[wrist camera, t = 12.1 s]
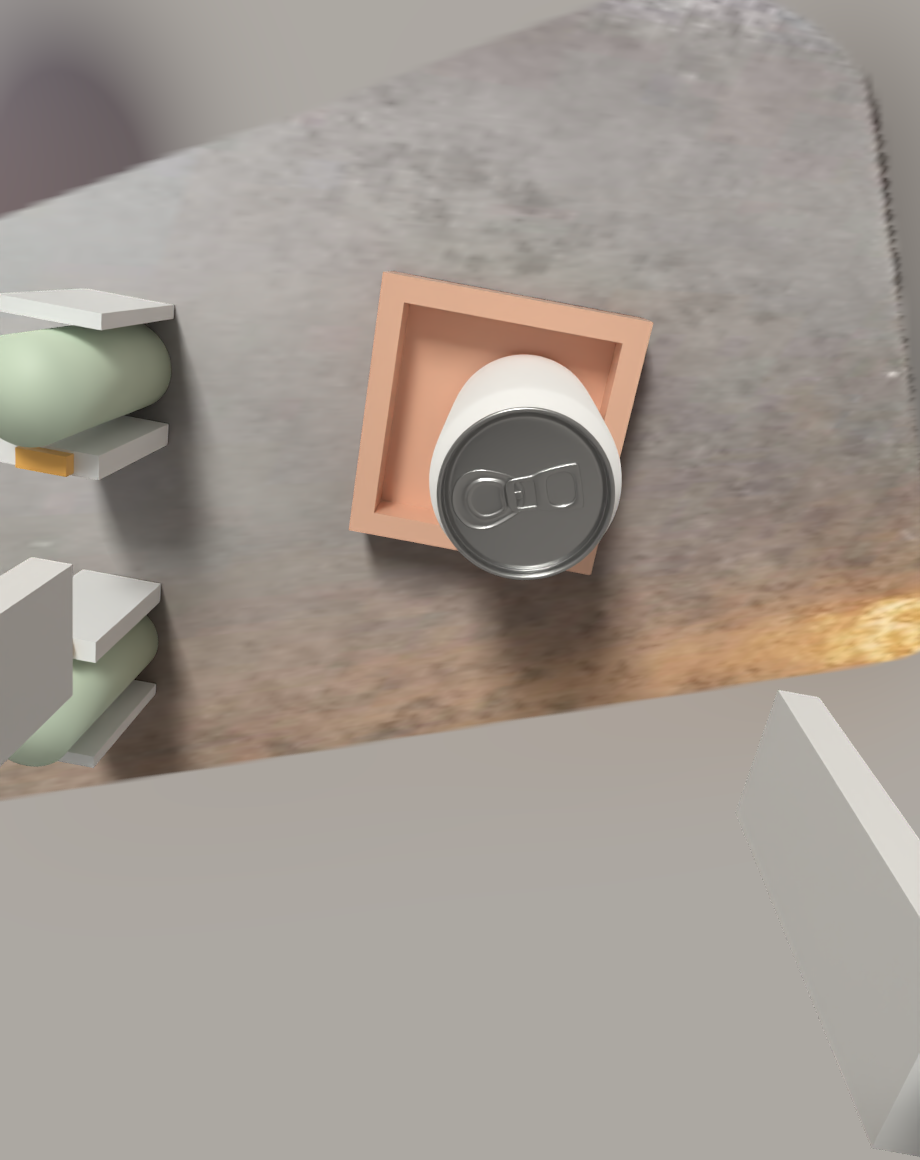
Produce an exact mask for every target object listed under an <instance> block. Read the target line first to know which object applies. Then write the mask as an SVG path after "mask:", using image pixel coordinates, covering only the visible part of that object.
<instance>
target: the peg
mask: <svg viewBox="0 0 920 1160" xmlns="http://www.w3.org/2000/svg"><path fill="white" fill-rule="evenodd" d="M157 649H158V634H157V631H156V628H155V626H154V624H153V623H152V621H151V620H150V618H149V617H148V616H147V615H146V616H145V617H143V618H142V619H141V620H140V621H139V622H138V623H137V624H136V625H135V626H134V627H133V628H132V629H131V630H130V631H129V632H128V633H127V634H125V635H124V636H123V637H122V638H121V639H120V640H119V641H118V642H117V643H116V644H115V645H114V646H113V647H112V648H111V649H110V650H109V651H107V652H106V653H105V654H104V655H103V656H102V657H101V658H100V659H99V660H98V661H97V662H96V663H93V662H87V661H82V660H77V659H73V696H72V697H71V698H70V699H69V700H68V701H67V702H65V703H64V704H63V705H62V706H61V707H60V708H59V709H58V710H57V711H56V712H55V713H54V714H53V715H52V716H51V717H50V718H49V719H48V720H47V721H46V722H45V723H44V724H43V725H42V726H41V727H40V728H39V729H38V730H37V731H36V732H35V733H34V734H33V735H32V736H31V737H30V738H29V739H28V740H27V741H26V742H25V743H24V744H23V745H22V746H21V747H20V748H19V749H18V750H17V751H16V752H15V753H14V754H12V755H11V756H10V757H9V758H8V759H9V760H11V761H13V762H15V763H18V764H22V765H26V766H45V765H49V764H52V763H54V762H56V761H58V760H59V759H61V758H62V757H63V756H64V755H65V754H66V753H67V751H68V750H69V749H70V748H71V747H72V746H73V745H74V744H75V743H76V742H77V741H78V740H79V739H80V737H81V736H82V735H83V734H84V733H85V732H86V731H87V730H88V729H89V728H90V727H91V726H92V724H93V723H94V722H95V721H96V720H97V719H98V718H99V717H100V716H101V715H102V714H103V713H104V711H105V710H106V709H107V708H108V707H109V706H110V705H111V704H112V703H113V702H114V701H115V700H116V698H117V697H118V696H119V695H120V694H121V693H122V692H123V691H124V690H125V689H126V688H127V687H128V685H129V684H130V683H131V682H132V681H133V680H134V679H135V678H136V677H137V676H138V675H139V674H140V673H141V671H142V670H143V669H144V668H145V667H146V666H147V665H148V664H149V663H150V662H151V661H152V660H153V658H154V656H155V655H156V652H157Z"/></svg>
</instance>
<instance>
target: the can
mask: <svg viewBox="0 0 920 1160" xmlns="http://www.w3.org/2000/svg"><path fill="white" fill-rule="evenodd" d="M621 486H622V472H621V463H620V458H619V454H618V451H617V448H616V445H615V442H614V440H613V438H612V436H611V433H610V431H609V429H608V427H607V426H606V424H605V422H604V420H603V418H602V416H601V414H600V413H599V411H598V409H597V407H596V405H595V403H594V402H593V400H592V398H591V396H590V395H589V393H588V391H587V390H586V388H585V387H584V385H583V384H582V383H581V381H580V380H579V379H578V378H577V377H576V376H575V375H574V374H573V373H572V372H571V371H570V370H568V369H567V368H566V367H564V366H563V365H561V364H559V363H557V362H555V361H553V360H551V359H548V358H545V357H542V356H537V355H529V354H519V355H511V356H506V357H503V358H500V359H497V360H495V361H492V362H490V363H489V364H487V365H485V366H484V367H482V368H481V369H479V370H478V371H477V372H476V373H475V374H473V375H472V376H471V377H470V378H469V380H468V381H467V382H466V383H465V385H464V386H463V387H462V389H461V390H460V392H459V394H458V396H457V398H456V400H455V402H454V404H453V406H452V408H451V410H450V413H449V415H448V417H447V419H446V422H445V424H444V426H443V429H442V431H441V433H440V436H439V438H438V441H437V443H436V446H435V449H434V452H433V456H432V460H431V465H430V473H429V489H430V497H431V502H432V506H433V510H434V513H435V515H436V518H437V520H438V522H439V524H440V526H441V528H442V530H443V531H444V533H445V534H446V536H447V537H448V538H449V540H450V541H451V542H452V544H453V545H454V546H455V547H456V549H457V550H458V551H459V552H460V553H461V554H462V555H463V556H464V557H465V558H466V559H467V560H469V561H470V562H471V563H473V564H474V565H476V566H477V567H479V568H481V569H482V570H484V571H486V572H489V573H491V574H494V575H497V576H500V577H504V578H508V579H516V580H534V579H541V578H546V577H550V576H553V575H556V574H559V573H561V572H563V571H566V570H568V569H569V568H571V567H573V566H574V565H576V564H577V563H579V562H580V561H582V560H583V559H584V558H585V557H586V556H587V555H588V554H589V553H590V552H591V551H592V550H593V549H594V548H595V547H596V546H597V544H598V543H599V542H600V540H601V539H602V537H603V535H604V534H605V532H606V531H607V529H608V528H609V526H610V524H611V522H612V520H613V518H614V516H615V513H616V511H617V508H618V504H619V500H620V495H621Z"/></svg>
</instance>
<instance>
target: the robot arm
mask: <svg viewBox="0 0 920 1160" xmlns="http://www.w3.org/2000/svg"><path fill="white" fill-rule="evenodd" d="M72 696H73V564H68V563H62V562H57V561H51V560H46V559H40V558H34V557H30V558H29V559H27V560H26V561H24V562H22V563H21V564H19V565H17V566H16V567H14V568H12V569H11V570H9V571H8V572H6V573H4V574H3V575H1V576H0V766H1V765H2V764H3V763H4V762H5V761H6V760H7V759H8V758H9V757H10V756H11V755H12V754H14V753H15V752H16V751H17V750H18V749H19V748H20V747H21V746H22V745H23V744H24V743H25V742H26V741H27V740H28V739H29V738H30V737H31V736H32V735H33V734H34V733H35V732H36V731H37V730H38V729H39V728H40V727H41V726H42V725H43V724H44V723H45V722H46V721H47V720H48V719H49V718H50V717H51V716H52V715H53V714H54V713H55V712H56V711H57V710H58V709H59V708H60V707H61V706H62V705H63V704H64V703H65V702H67V701H68V700H69V699H70V698H71V697H72ZM736 815H737V818H738V821H739V823H740V825H741V828H742V830H743V833H744V835H745V838H746V840H747V842H748V845H749V847H750V850H751V853H752V855H753V857H754V860H755V862H756V865H757V867H758V870H759V872H760V874H761V877H762V880H763V882H764V885H765V887H766V889H767V892H768V894H769V897H770V899H771V902H772V904H773V907H774V909H775V911H776V914H777V916H778V919H779V921H780V924H781V926H782V929H783V931H784V934H785V936H786V939H787V941H788V944H789V946H790V949H791V951H792V953H793V956H794V958H795V961H796V963H797V966H798V968H799V971H800V973H801V976H802V978H803V981H804V983H805V986H806V988H807V990H808V993H809V995H810V998H811V1000H812V1003H813V1005H814V1008H815V1010H816V1013H817V1015H818V1018H819V1020H820V1022H821V1025H822V1027H823V1030H824V1032H825V1035H826V1037H827V1040H828V1042H829V1044H830V1047H831V1050H832V1052H833V1054H834V1057H835V1059H836V1062H837V1064H838V1067H839V1069H840V1072H841V1074H842V1077H843V1079H844V1081H845V1084H846V1086H847V1089H848V1091H849V1094H850V1096H851V1099H852V1101H853V1104H854V1106H855V1109H856V1111H857V1114H858V1116H859V1118H860V1121H861V1123H862V1126H863V1128H864V1131H865V1133H866V1136H867V1138H868V1141H869V1143H870V1145H871V1148H873V1149H879V1150H885V1151H891V1152H896V1153H902V1154H908V1155H913V1156H919V1157H920V839H919V838H918V837H917V835H916V834H915V832H914V831H913V829H912V828H911V827H910V825H909V824H908V823H907V821H906V820H905V818H904V817H903V816H902V814H901V813H900V811H899V810H898V808H897V807H896V805H895V804H894V803H893V801H892V800H891V798H890V797H889V796H888V794H887V793H886V791H885V790H884V788H883V787H882V786H881V784H880V783H879V781H878V780H877V779H876V777H875V776H874V774H873V773H872V772H871V770H870V769H869V767H868V766H867V765H866V763H865V762H864V760H863V759H862V757H861V756H860V755H859V753H858V752H857V750H856V749H855V747H854V746H853V745H852V743H851V742H850V740H849V739H848V738H847V736H846V735H845V733H844V732H843V731H842V729H841V728H840V726H839V725H838V724H837V722H836V721H835V719H834V718H833V716H832V715H831V714H830V712H829V711H828V709H827V708H826V707H825V705H824V704H823V702H822V701H821V699H820V698H819V697H815V696H809V695H803V694H797V693H792V692H787V691H781V690H778V691H777V694H776V698H775V700H774V703H773V706H772V709H771V712H770V715H769V717H768V720H767V723H766V726H765V729H764V732H763V735H762V738H761V741H760V744H759V746H758V749H757V752H756V755H755V758H754V761H753V764H752V767H751V770H750V773H749V775H748V778H747V781H746V784H745V787H744V790H743V793H742V796H741V798H740V801H739V804H738V807H737V810H736Z"/></svg>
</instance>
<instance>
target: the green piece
mask: <svg viewBox="0 0 920 1160" xmlns="http://www.w3.org/2000/svg"><path fill="white" fill-rule="evenodd" d="M170 379H171V361H170V357H169V354H168V351H167V349H166V347H165V345H164V343H163V342H162V341H161V339H160V338H159V337H158V336H157V334H156V333H155V332H153V331H152V330H151V329H150V328H148V327H147V326H145V325H143V324H137V325H131V326H125V327H119V328H113V329H106V330H97V329H92V328H86V327H81V326H76V325H71V326H64V327H57V328H50V329H42V330H35V331H28V332H21V333H13V334H6V335H0V438H1V439H2V440H4V441H6V442H8V443H11V444H14V445H17V446H21V447H41V446H45V445H48V444H51V443H54V442H56V441H59V440H61V439H64V438H66V437H69V436H72V435H74V434H77V433H79V432H82V431H85V430H87V429H90V428H92V427H95V426H97V425H100V424H103V423H105V422H108V421H110V420H113V419H116V418H118V417H121V416H123V415H126V414H128V413H131V412H134V411H136V410H139V409H141V408H144V407H147V406H149V405H151V404H153V403H155V402H156V401H158V400H159V399H160V398H161V397H162V396H163V394H164V393H165V391H166V390H167V388H168V385H169V383H170Z"/></svg>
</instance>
